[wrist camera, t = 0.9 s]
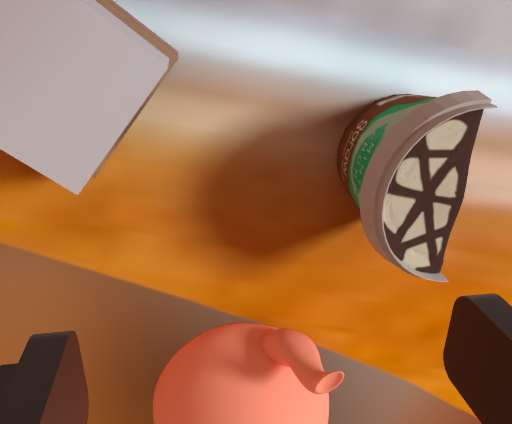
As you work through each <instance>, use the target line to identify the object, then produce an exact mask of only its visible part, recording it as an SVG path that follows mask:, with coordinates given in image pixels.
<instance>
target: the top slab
mask: <svg viewBox="0 0 512 424" xmlns="http://www.w3.org/2000/svg"><path fill="white" fill-rule="evenodd" d="M168 64H169V58H168V57H167V56H166V55H164V54H163V53H162V52H161V51H159V50H158V49H157V48H155V47H154V46H153V45H152V44H150V43H149V42H148V41H146V40H145V39H144V38H143V37H141V36H140V35H139V34H138V33H136V32H135V31H134V30H132V29H131V28H130V27H129V26H127V25H126V24H125V23H123V22H122V21H121V20H120V19H118V18H117V17H116V16H115V15H113V14H112V13H111V12H109V11H108V10H107V9H106V8H104V7H103V6H102V5H100V4H99V3H98V2H97V1H95V0H0V149H1V150H3V151H4V152H6V153H8V154H9V155H11V156H13V157H14V158H16V159H18V160H19V161H21V162H23V163H24V164H26V165H28V166H29V167H31V168H33V169H34V170H36V171H38V172H39V173H41V174H43V175H44V176H46V177H48V178H50V179H51V180H53V181H55V182H56V183H58V184H60V185H61V186H63V187H65V188H66V189H68V190H70V191H71V192H73V193H75V194H76V195H78V194H79V193H80V191H81V190H82V189H83V187H84V186H85V184H86V183H87V181H88V180H89V179H90V177H91V176H92V174H93V173H94V172H95V170H96V169H97V167H98V166H99V165H100V163H101V162H102V160H103V159H104V158H105V156H106V155H107V153H108V152H109V150H110V149H111V148H112V146H113V145H114V143H115V142H116V141H117V139H118V138H119V136H120V135H121V134H122V132H123V131H124V129H125V128H126V127H127V125H128V124H129V122H130V121H131V120H132V118H133V117H134V115H135V114H136V112H137V111H138V110H139V108H140V107H141V105H142V104H143V103H144V101H145V100H146V98H147V97H148V96H149V94H150V93H151V91H152V90H153V89H154V87H155V86H156V84H157V83H158V82H159V80H160V79H161V77H162V76H163V74H164V73H165V72H166V70H167V69H168Z"/></svg>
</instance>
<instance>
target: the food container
mask: <svg viewBox="0 0 512 424" xmlns="http://www.w3.org/2000/svg"><path fill="white" fill-rule="evenodd" d="M490 102H491V99H490V98H488V97H487V96H485V95H484V94H482V93H481V92H479V91H461V92H456V93H451V94H447V95H444V96H441V97H439V98H437V97H429V96H421V95H412V94H399V95H392V96H389V97H386V98H383V99H380V100H377V101H375V102H374V103H372V104H371V105H369V106H368V107H366V108H365V109H364V110H362V111H361V112H359V113H358V114H357V116H356V117H355V118H354V119H353V121H352V122H351V123H350V124H349V125H348V127H347V128H346V130H345V132H344V134H343V136H342V139H341V141H340V143H339V148H338V152H337V168H338V173H339V176H340V179H341V181H342V183H343V185H344V187H345V188H346V190H347V191H348V193H349V194H350V196H351V197H352V199H353V200H354V202H355V203H356V205H357V206H358V207H359V209H360V215H361V220H362V224H363V228H364V231H365V233H366V235H367V237H368V240H369V241H370V243H371V244H372V246H373V247H374V248H375V250H376V251H377V252H378V253H379V254H380V255H381V256H382V257H384V258H385V259H386V260H388V261H389V262H391V263H392V264H394V265H395V266H397V267H399V268H400V269H402V270H403V271H405V272H407V273H409V274H411V275H414V276H416V277H420V278H424V279H427V280H431V281H436V282H448V280H447V279H446V278H445V277H444V275H443V274H442V273H441V272H440V270H441V267H442V264H443V258H444V253H445V249H446V246H447V242H448V239H449V235H450V232H451V230H452V227H453V225H454V222H455V220H456V217H457V215H458V212H459V209H460V207H461V204H462V201H463V198H464V193H465V188H466V182H467V176H468V169H469V164H470V158H471V154H472V150H473V146H474V142H475V139H476V135H477V131H478V127H479V124H480V120H481V117H482V113H483V110H484V109H485V108H497V106H495V105H492V104H490Z"/></svg>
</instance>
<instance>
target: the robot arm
mask: <svg viewBox="0 0 512 424" xmlns="http://www.w3.org/2000/svg"><path fill="white" fill-rule="evenodd" d="M443 359H444V366H445V369H446V372H447V375H448V377H449V379H450V381H451V382H452V384H453V385H454V386H455V388H456V389H457V390H458V392H459V393H460V394H461V396H462V397H463V399H464V400H465V401H466V403H467V404H468V405H469V407H470V408H471V409H472V411H473V412H474V414H475V415H476V416H477V418H478V419H479V420H480V422H481V423H482V424H512V306H510V305H509V304H508V303H507V302H506V301H505V300H504V299H503V298H501V297H500V296H499V295H497V294H482V295H471V296H461V297H459V298H457V300H456V301H455V303H454V306H453V311H452V316H451V320H450V325H449V329H448V334H447V338H446V343H445V347H444V353H443ZM87 418H88V390H87V384H86V379H85V374H84V369H83V363H82V358H81V353H80V348H79V342H78V338H77V335H76V333H75V331H65V332H54V333H45V334H44V333H43V334H34V335H32V336H31V337H30V339H29V341H28V343H27V345H26V347H25V349H24V352H23V354H22V356H21V358H20V360H19V363H18V364H9V365H1V366H0V424H87Z"/></svg>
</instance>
